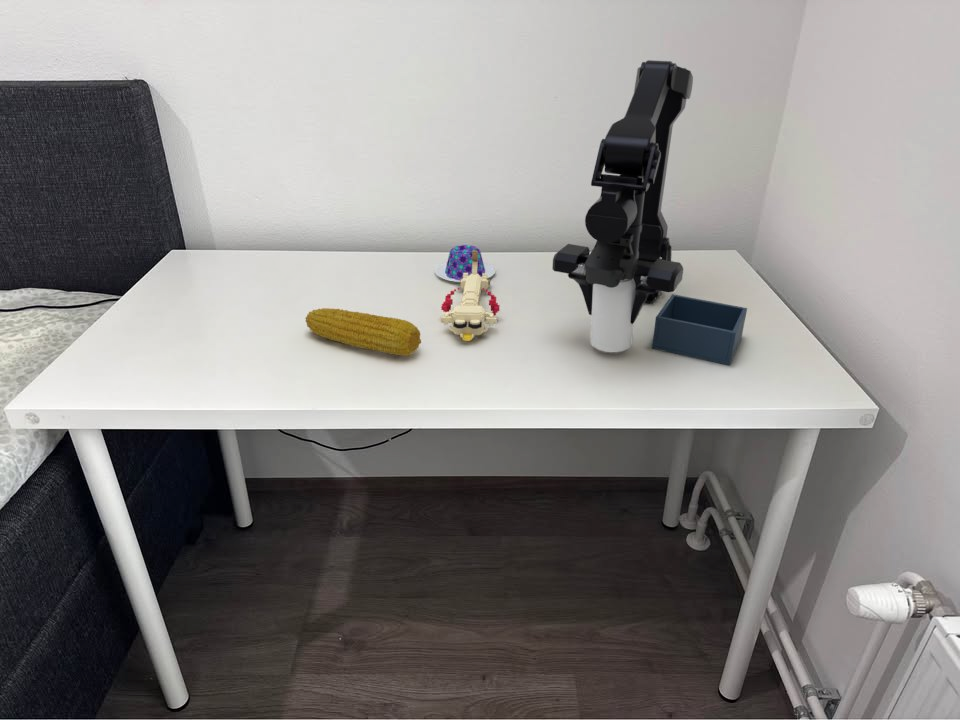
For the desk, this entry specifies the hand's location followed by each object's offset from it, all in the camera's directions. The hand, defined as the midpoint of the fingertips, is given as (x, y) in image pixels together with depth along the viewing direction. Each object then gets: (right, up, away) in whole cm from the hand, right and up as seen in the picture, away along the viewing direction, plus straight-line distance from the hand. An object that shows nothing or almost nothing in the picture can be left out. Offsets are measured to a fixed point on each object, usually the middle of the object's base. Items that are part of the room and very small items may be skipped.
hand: (611, 318), depth 110 cm
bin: (+15, -4, +5) cm, 16 cm away
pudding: (-23, +11, +31) cm, 41 cm away
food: (-40, -4, +4) cm, 40 cm away
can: (0, -4, +2) cm, 5 cm away
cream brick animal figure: (-22, +2, +15) cm, 27 cm away
